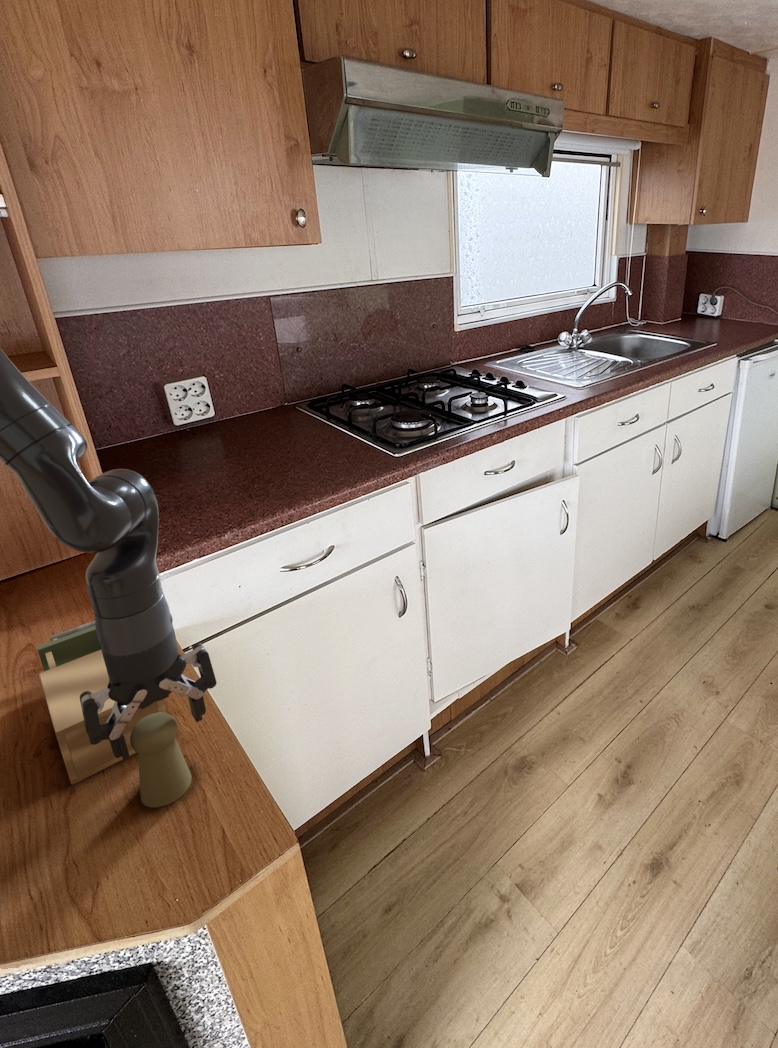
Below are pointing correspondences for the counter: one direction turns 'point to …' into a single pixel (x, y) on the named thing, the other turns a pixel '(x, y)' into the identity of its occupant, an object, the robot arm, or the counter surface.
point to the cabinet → (68, 716)
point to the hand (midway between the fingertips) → (162, 735)
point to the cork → (159, 760)
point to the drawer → (69, 646)
